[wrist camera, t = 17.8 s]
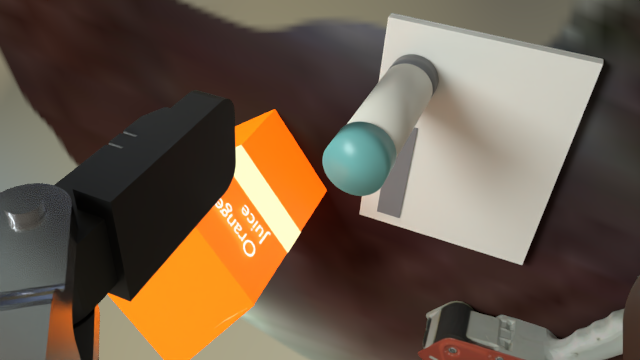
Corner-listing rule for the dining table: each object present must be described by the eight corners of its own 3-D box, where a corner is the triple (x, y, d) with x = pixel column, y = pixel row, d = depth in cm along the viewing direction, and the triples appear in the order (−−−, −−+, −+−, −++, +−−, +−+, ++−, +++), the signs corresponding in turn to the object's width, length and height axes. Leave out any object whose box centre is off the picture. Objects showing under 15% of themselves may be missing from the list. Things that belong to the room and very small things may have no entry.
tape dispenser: (686, 283, 46) (429, 244, 52) (699, 332, 42) (418, 284, 48) (636, 424, 55) (423, 378, 61) (643, 476, 51) (414, 421, 57)
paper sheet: (603, 58, 37) (603, 64, 37) (523, 258, 48) (522, 265, 48) (391, 12, 41) (387, 17, 40) (362, 208, 52) (358, 214, 51)
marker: (445, 60, 40) (390, 150, 32) (434, 107, 43) (380, 204, 34) (392, 47, 41) (325, 130, 33) (384, 94, 44) (320, 183, 35)
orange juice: (265, 210, 57) (141, 376, 42) (213, 135, 54) (59, 285, 39) (329, 190, 52) (215, 369, 37) (276, 107, 49) (129, 265, 34)
